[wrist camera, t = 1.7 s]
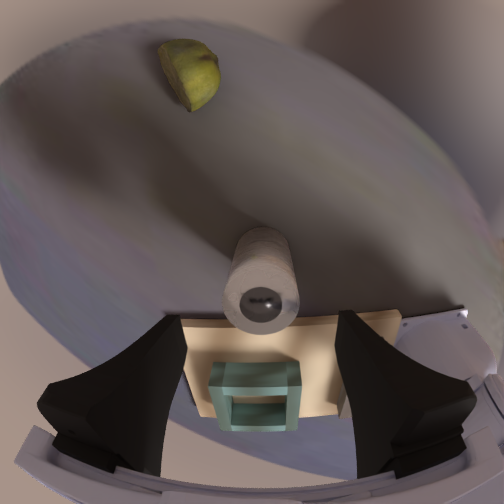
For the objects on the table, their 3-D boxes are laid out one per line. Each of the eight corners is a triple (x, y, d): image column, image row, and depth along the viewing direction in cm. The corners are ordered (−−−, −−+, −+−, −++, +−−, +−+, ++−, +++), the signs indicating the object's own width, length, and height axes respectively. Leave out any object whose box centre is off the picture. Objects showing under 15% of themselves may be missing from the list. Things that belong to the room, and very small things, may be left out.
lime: (208, 120, 17) (189, 113, 12) (151, 96, 16) (118, 85, 12) (240, 67, 15) (231, 42, 11) (181, 44, 15) (156, 19, 10)
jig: (397, 309, 22) (415, 337, 18) (367, 401, 27) (375, 428, 23) (175, 318, 23) (160, 349, 19) (202, 408, 28) (196, 436, 25)
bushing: (289, 225, 19) (300, 269, 13) (289, 275, 21) (298, 334, 14) (233, 228, 20) (217, 272, 13) (238, 277, 21) (226, 335, 15)
